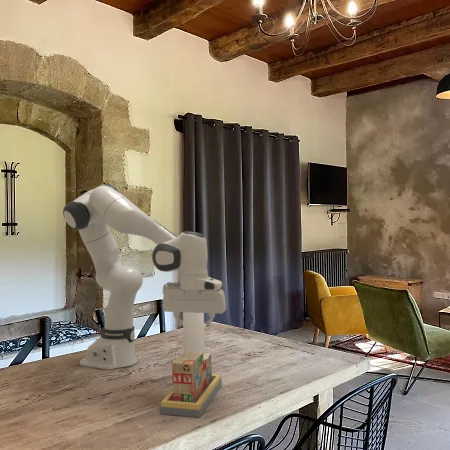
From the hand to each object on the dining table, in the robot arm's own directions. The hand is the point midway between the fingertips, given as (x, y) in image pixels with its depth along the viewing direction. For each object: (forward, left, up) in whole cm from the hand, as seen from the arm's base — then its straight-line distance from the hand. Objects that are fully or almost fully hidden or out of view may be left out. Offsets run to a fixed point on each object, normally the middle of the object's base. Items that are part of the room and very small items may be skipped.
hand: (194, 326), depth 148 cm
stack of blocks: (0, 0, -21) cm, 21 cm away
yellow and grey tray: (0, 0, -23) cm, 23 cm away
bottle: (-9, +30, -23) cm, 39 cm away
